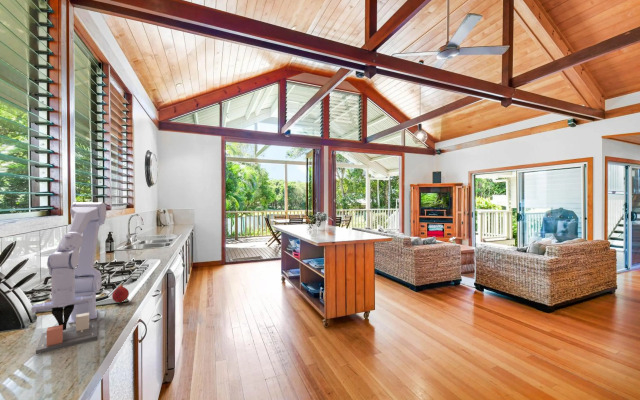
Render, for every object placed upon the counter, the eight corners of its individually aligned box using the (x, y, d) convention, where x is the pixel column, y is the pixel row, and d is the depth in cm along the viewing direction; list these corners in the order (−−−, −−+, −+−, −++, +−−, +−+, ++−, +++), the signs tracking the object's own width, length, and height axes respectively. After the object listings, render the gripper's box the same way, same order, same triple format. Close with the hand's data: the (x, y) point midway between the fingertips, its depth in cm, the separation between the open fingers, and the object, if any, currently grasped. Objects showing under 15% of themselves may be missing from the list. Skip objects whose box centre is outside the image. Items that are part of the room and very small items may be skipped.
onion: (120, 306, 117) (120, 287, 117) (108, 305, 119) (108, 286, 118) (132, 301, 123) (132, 283, 123) (121, 300, 124) (121, 282, 124)
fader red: (47, 342, 86) (47, 327, 86) (62, 339, 88) (62, 324, 88) (46, 346, 84) (46, 330, 84) (62, 342, 86) (62, 327, 86)
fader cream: (76, 328, 95) (76, 314, 95) (89, 325, 97) (89, 312, 97) (75, 331, 93) (75, 317, 93) (89, 328, 95) (89, 314, 95)
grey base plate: (42, 337, 91) (42, 333, 91) (97, 325, 100) (97, 321, 100) (35, 354, 81) (35, 350, 81) (97, 339, 90) (97, 335, 90)
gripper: (29, 295, 84) (29, 340, 84) (91, 286, 93) (91, 327, 93) (33, 289, 90) (33, 331, 90) (91, 281, 99) (91, 319, 99)
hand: (63, 329), depth 92 cm, fingers closed
